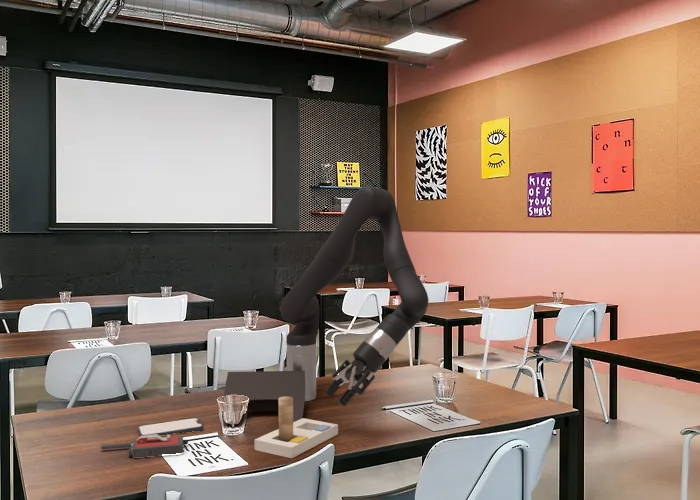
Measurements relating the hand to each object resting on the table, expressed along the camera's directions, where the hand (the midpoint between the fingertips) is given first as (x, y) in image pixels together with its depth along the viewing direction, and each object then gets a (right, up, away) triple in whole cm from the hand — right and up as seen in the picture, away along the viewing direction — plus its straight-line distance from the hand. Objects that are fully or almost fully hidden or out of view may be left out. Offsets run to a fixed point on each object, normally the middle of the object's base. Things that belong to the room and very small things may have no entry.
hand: (333, 399), depth 156 cm
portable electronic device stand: (-20, -10, +20) cm, 30 cm away
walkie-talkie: (-45, -11, -8) cm, 47 cm away
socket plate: (-9, -10, -1) cm, 14 cm away
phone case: (-43, -11, +8) cm, 45 cm away
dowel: (-11, -10, -5) cm, 16 cm away
